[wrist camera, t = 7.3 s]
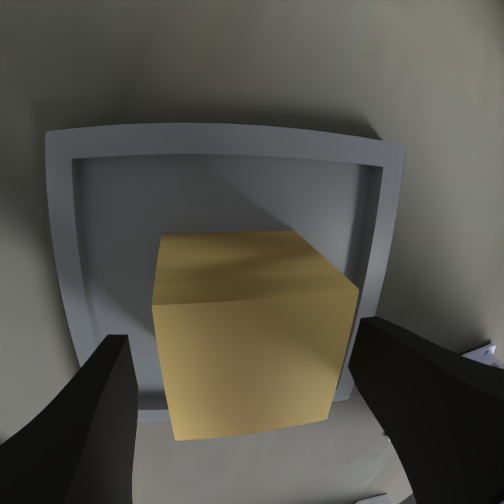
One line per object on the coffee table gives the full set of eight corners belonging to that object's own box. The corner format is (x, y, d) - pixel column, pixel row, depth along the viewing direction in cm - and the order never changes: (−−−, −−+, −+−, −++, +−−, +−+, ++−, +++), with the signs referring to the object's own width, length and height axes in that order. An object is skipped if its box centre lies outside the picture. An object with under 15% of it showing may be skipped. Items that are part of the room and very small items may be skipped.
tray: (384, 142, 12) (405, 145, 11) (338, 381, 17) (348, 398, 16) (60, 131, 10) (45, 131, 8) (103, 400, 14) (100, 421, 13)
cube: (294, 230, 12) (359, 289, 8) (284, 337, 14) (326, 419, 10) (161, 234, 11) (151, 304, 7) (171, 347, 13) (175, 440, 8)
